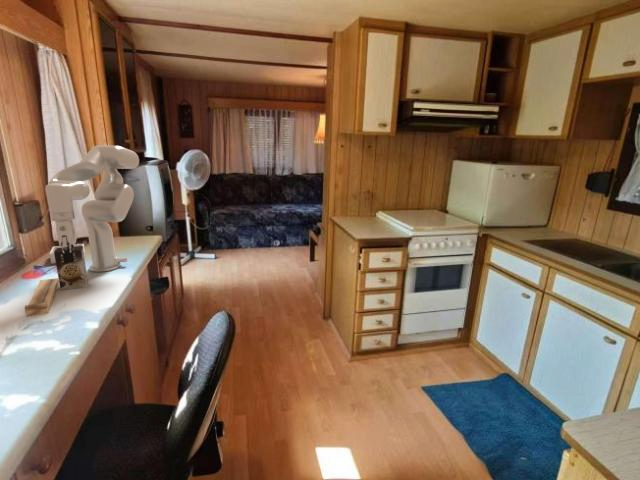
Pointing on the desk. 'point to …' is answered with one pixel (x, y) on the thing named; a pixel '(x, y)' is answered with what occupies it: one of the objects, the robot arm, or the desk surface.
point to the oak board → (42, 297)
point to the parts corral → (61, 247)
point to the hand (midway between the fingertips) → (70, 259)
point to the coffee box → (71, 269)
